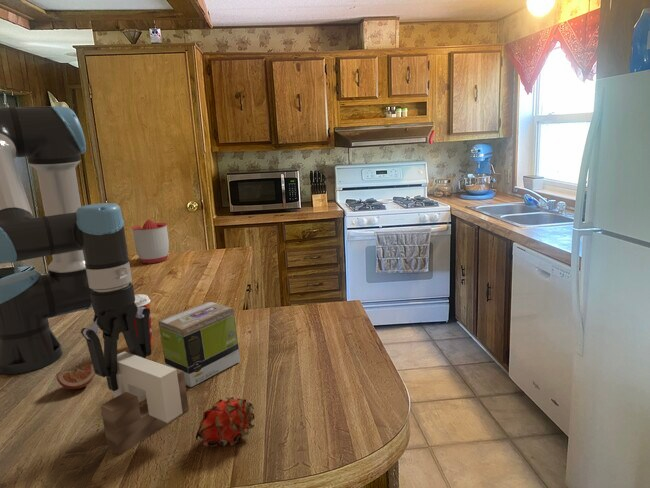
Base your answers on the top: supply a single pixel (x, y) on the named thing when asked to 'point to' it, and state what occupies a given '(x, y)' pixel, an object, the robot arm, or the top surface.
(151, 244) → the citrus juicer
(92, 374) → the fruit slice
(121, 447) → the walnut slotted plate
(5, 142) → the robot arm
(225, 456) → the top surface
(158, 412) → the cream slotted plate
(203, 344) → the tea box
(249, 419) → the dragon fruit
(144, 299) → the paper cup
